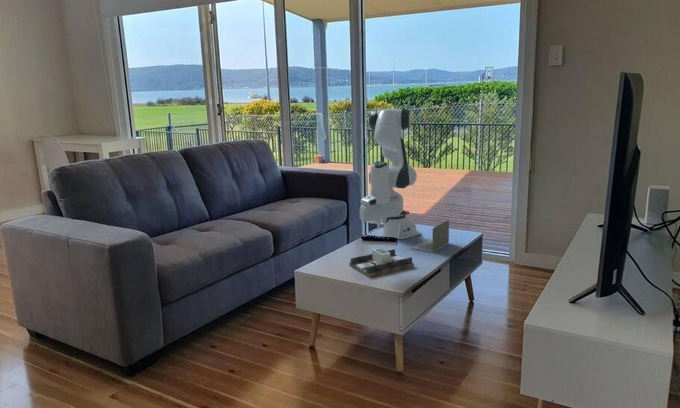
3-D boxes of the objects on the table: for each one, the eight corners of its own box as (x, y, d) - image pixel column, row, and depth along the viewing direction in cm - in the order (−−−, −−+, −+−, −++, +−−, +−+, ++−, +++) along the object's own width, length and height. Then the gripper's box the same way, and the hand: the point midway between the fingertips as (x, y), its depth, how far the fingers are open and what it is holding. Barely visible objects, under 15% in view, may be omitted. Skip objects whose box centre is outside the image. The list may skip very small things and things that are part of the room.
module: (380, 257, 236) (380, 247, 235) (390, 263, 228) (390, 252, 227) (372, 259, 234) (372, 248, 233) (382, 265, 226) (381, 254, 225)
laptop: (427, 240, 269) (427, 216, 266) (448, 244, 261) (449, 219, 258) (410, 249, 255) (410, 224, 252) (433, 253, 248) (433, 228, 245)
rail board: (392, 256, 245) (392, 248, 244) (414, 266, 229) (414, 258, 228) (349, 265, 234) (349, 257, 233) (369, 277, 218) (369, 268, 218)
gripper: (395, 194, 232) (395, 222, 235) (357, 200, 222) (358, 229, 226) (403, 196, 226) (403, 225, 229) (364, 202, 217) (365, 233, 220)
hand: (380, 227), depth 227 cm, fingers closed
